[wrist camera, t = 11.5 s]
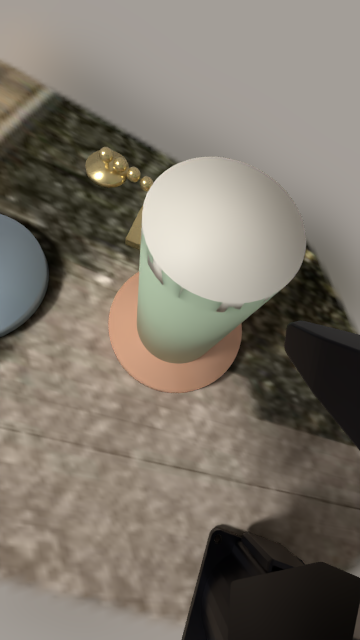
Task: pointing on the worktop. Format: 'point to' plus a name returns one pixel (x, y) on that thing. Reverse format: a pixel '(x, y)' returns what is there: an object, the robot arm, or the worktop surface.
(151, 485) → the worktop surface
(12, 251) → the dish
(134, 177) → the balance
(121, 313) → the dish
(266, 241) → the canister
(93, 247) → the worktop surface
